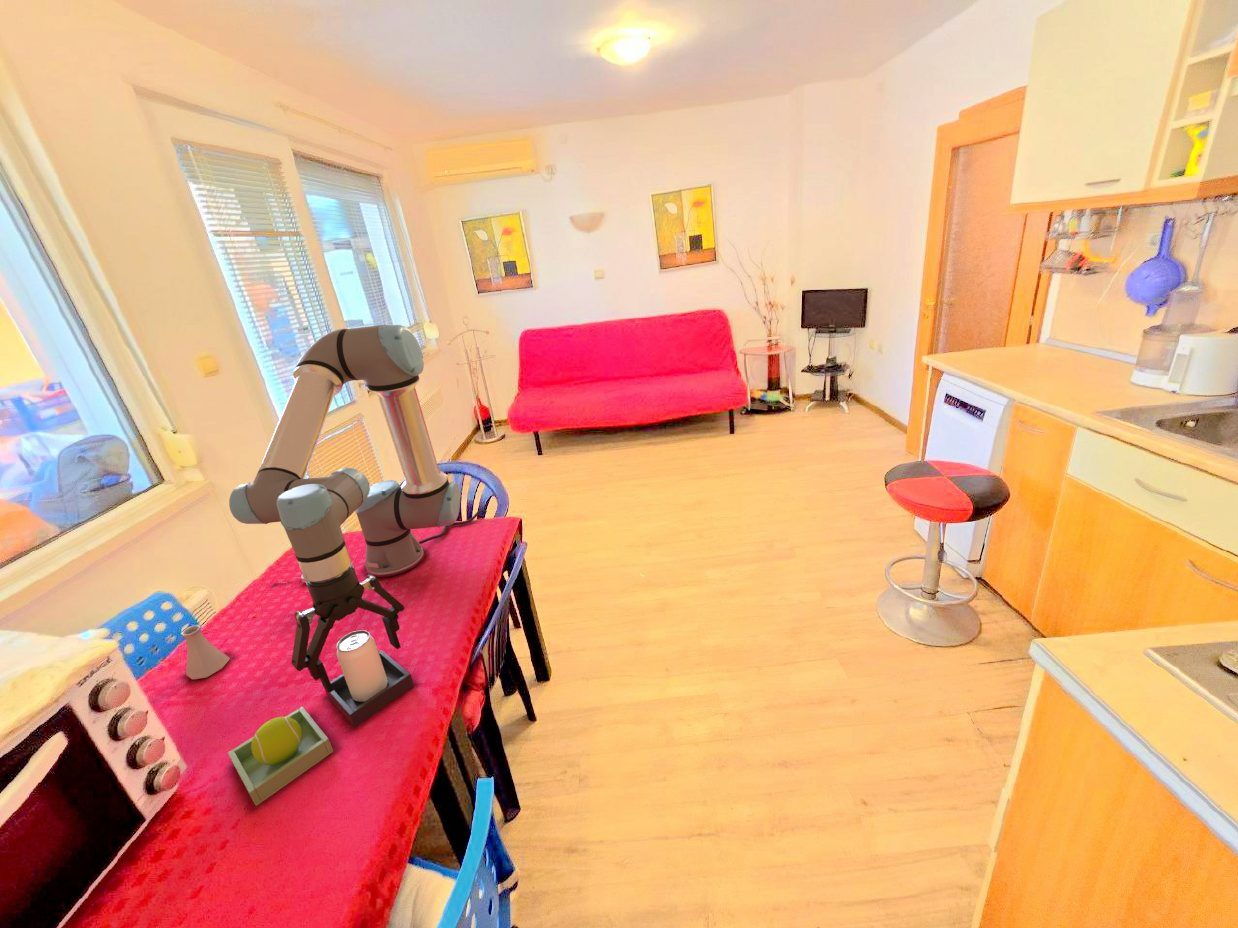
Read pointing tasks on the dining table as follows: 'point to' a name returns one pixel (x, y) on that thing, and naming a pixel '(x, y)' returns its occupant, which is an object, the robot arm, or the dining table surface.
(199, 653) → the flask
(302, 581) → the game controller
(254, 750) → the tennis ball
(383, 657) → the charcoal tray
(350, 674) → the can
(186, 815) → the dining table surface
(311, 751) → the green tray
